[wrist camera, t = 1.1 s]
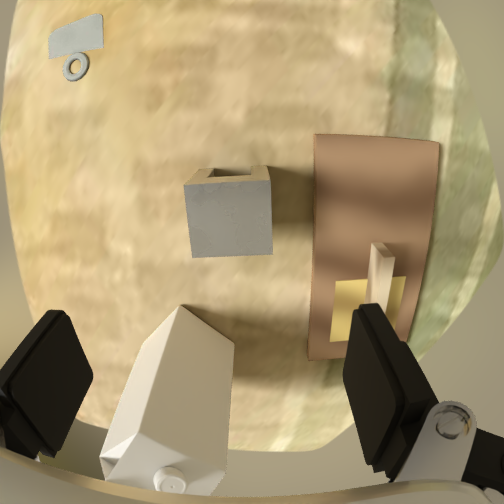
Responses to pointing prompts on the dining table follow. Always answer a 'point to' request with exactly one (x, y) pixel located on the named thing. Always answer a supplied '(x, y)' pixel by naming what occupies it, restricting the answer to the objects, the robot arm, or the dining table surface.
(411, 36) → the dining table surface
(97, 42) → the mounting bracket
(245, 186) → the notched grey block
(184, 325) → the milk carton
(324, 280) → the rail board
